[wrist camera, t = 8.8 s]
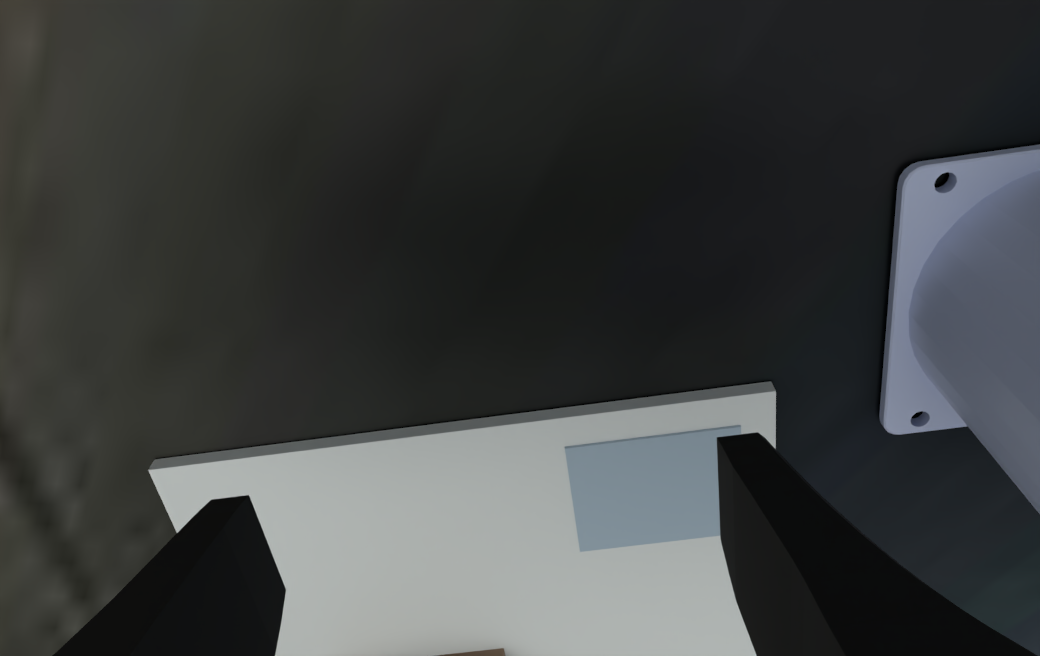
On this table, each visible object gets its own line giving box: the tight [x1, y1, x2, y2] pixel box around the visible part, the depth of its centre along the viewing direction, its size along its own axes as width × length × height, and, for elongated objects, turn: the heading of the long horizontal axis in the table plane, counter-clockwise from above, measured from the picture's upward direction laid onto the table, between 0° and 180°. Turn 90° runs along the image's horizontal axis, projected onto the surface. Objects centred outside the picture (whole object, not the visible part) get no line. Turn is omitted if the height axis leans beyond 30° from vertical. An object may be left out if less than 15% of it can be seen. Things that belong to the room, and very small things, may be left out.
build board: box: [148, 381, 776, 656], centre depth 28 cm, size 18×16×1 cm
